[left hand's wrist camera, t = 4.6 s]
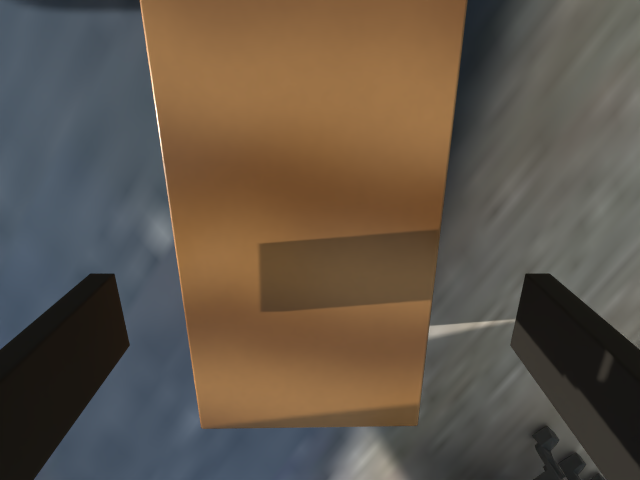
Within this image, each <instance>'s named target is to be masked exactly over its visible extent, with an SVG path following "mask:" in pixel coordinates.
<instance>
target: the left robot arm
mask: <svg viewBox="0 0 640 480" xmlns="http://www.w3.org/2000/svg"><path fill="white" fill-rule="evenodd" d="M129 346H130V344H129V340H128V335H127V330H126V326H125V321H124V316H123V312H122V307H121V302H120V298H119V293H118V288H117V284H116V279H115V275H114V274H89V275H88V276H87V277H86V278H85V279H83V280H82V281H81V282H80V283H79V284H78V285H76V286H75V287H74V288H73V289H72V290H70V291H69V292H68V293H67V294H66V295H65V296H63V297H62V298H61V299H60V300H59V301H57V302H56V303H55V304H54V305H53V306H52V307H50V308H49V309H48V310H47V311H46V312H44V313H43V314H42V315H41V316H40V317H39V318H37V319H36V320H35V321H34V322H33V323H31V324H30V325H29V326H28V327H27V328H26V329H24V330H23V331H22V332H21V333H20V334H18V335H17V336H16V337H15V338H14V339H13V340H11V341H10V342H9V343H8V344H7V345H5V346H4V347H3V348H2V349H1V350H0V480H34V478H35V477H36V476H37V474H38V473H39V471H40V470H41V469H42V467H43V466H44V464H45V463H46V462H47V460H48V459H49V457H50V456H51V455H52V453H53V452H54V450H55V449H56V448H57V446H58V445H59V443H60V442H61V441H62V439H63V438H64V436H65V435H66V434H67V432H68V431H69V429H70V428H71V427H72V425H73V424H74V422H75V421H76V420H77V418H78V417H79V416H80V414H81V413H82V411H83V410H84V409H85V407H86V406H87V404H88V403H89V402H90V400H91V399H92V397H93V396H94V395H95V393H96V392H97V390H98V389H99V388H100V386H101V385H102V383H103V382H104V381H105V379H106V378H107V376H108V375H109V374H110V372H111V371H112V369H113V368H114V367H115V365H116V364H117V362H118V361H119V360H120V358H121V357H122V355H123V354H124V353H125V351H126V350H127V348H128V347H129ZM510 346H511V347H512V348H513V350H514V351H515V353H516V354H517V355H518V357H519V358H520V360H521V361H522V362H523V364H524V365H525V367H526V368H527V369H528V371H529V372H530V374H531V375H532V376H533V378H534V379H535V381H536V382H537V383H538V385H539V386H540V388H541V389H542V390H543V392H544V393H545V395H546V396H547V397H548V399H549V400H550V402H551V403H552V404H553V406H554V407H555V409H556V410H557V411H558V413H559V414H560V416H561V417H562V418H563V420H564V421H565V422H566V424H567V425H568V427H569V428H570V429H571V431H572V432H573V434H574V435H575V436H576V438H577V439H578V441H579V442H580V443H581V445H582V446H583V448H584V449H585V450H586V452H587V453H588V455H589V456H590V457H591V459H592V460H593V462H594V463H595V464H596V466H597V467H598V469H599V470H600V471H601V473H602V474H603V476H604V477H605V478H606V480H640V350H639V349H638V348H637V347H636V346H635V345H633V344H632V343H631V342H630V341H629V340H627V339H626V338H625V337H624V336H623V335H622V334H620V333H619V332H618V331H617V330H616V329H614V328H613V327H612V326H611V325H610V324H609V323H607V322H606V321H605V320H604V319H603V318H601V317H600V316H599V315H598V314H597V313H596V312H594V311H593V310H592V309H591V308H590V307H588V306H587V305H586V304H585V303H584V302H583V301H581V300H580V299H579V298H578V297H577V296H575V295H574V294H573V293H572V292H571V291H570V290H568V289H567V288H566V287H565V286H564V285H562V284H561V283H560V282H559V281H558V280H557V279H555V278H554V277H553V276H552V275H551V274H526V275H525V279H524V284H523V288H522V293H521V298H520V302H519V307H518V312H517V316H516V321H515V326H514V330H513V335H512V340H511V344H510Z"/></svg>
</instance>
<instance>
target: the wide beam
mask: <svg viewBox="0 0 640 480" xmlns="http://www.w3.org/2000/svg"><path fill="white" fill-rule="evenodd" d="M467 1H468V0H140V5H141V12H142V19H143V26H144V33H145V40H146V47H147V54H148V61H149V68H150V75H151V82H152V89H153V96H154V103H155V110H156V117H157V124H158V131H159V138H160V145H161V152H162V159H163V165H164V172H165V179H166V186H167V193H168V200H169V207H170V214H171V221H172V228H173V235H174V242H175V249H176V256H177V263H178V270H179V277H180V284H181V291H182V298H183V305H184V312H185V319H186V325H187V332H188V339H189V346H190V353H191V360H192V367H193V374H194V381H195V388H196V395H197V402H198V409H199V416H200V423H201V428H202V429H220V428H293V427H367V426H417V425H418V418H419V409H420V401H421V392H422V384H423V375H424V367H425V358H426V350H427V341H428V333H429V324H430V316H431V307H432V299H433V290H434V282H435V273H436V265H437V256H438V248H439V239H440V231H441V222H442V214H443V205H444V197H445V188H446V180H447V171H448V163H449V154H450V146H451V137H452V129H453V120H454V112H455V103H456V95H457V86H458V78H459V69H460V61H461V52H462V44H463V35H464V27H465V18H466V10H467Z"/></svg>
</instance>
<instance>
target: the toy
mask: <svg viewBox="0 0 640 480" xmlns="http://www.w3.org/2000/svg"><path fill="white" fill-rule="evenodd" d="M532 436H533V437H534V438H535V440H536V441H537V442H538V443H537V444H536V445H535V447H536V450H537V452H538V454H539V455H540V457H541V459H542V461H543V462H544V464H545V466H544V467H543V468H544V470H545V472H543V473H542V474H541V475H539V476H538V477H537V478H535V479H534V480H563V478H564V477H565V476H566V477H567V479H568V480H581V479H580V478H579V476H578V474H579V473H580V472H581V471H582V469H583V468H584V467H585V465H586V463H585V462H584V461H583V459H582V458H581V457H580V456H579V455H578V454H577V453H574V454H573V455H571V456H569V457H568V458H566V459H565V460H563V461H562V462H560V463H558V465H559V466H560V468H561V469H562V471H563V472H564V474H565V475H564V474H563V473H562V471H561V470H560V468H559V467H558V465H557V464H556V462H555V461H554V459H553V458H552V454H551V450H552V449H553V448H554V447H555V446H556V444H557V443H558V441H559V439H558V437H557V436H556V434H555V433H554V432H553V431H552V430H551V429H550V428H549V427H548V426H546V427H544V428H543V429H541V430H540V431H538V432H537V433H535V434H534V435H532ZM590 480H605V479H604V478H603V477H602V476H601V475H600V474H599V473H598V474H597V475H596V476H594V477H593V478H592V479H590Z"/></svg>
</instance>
